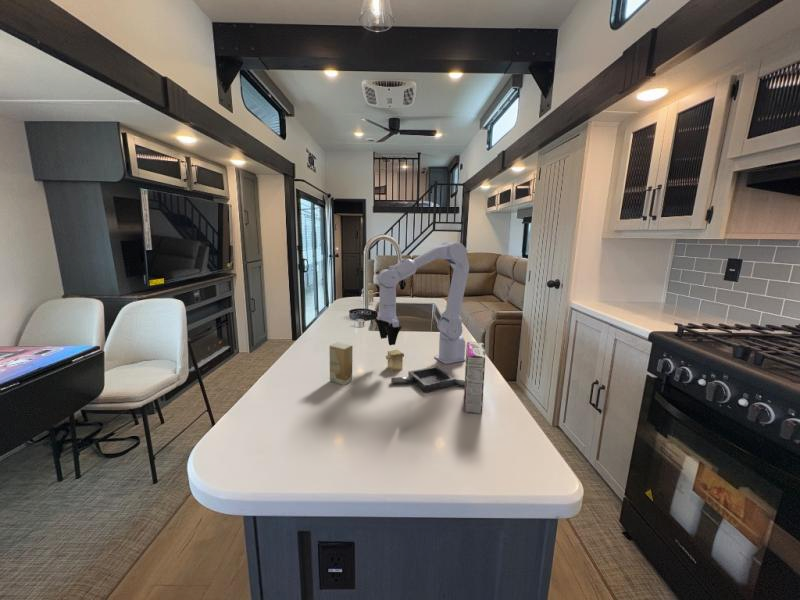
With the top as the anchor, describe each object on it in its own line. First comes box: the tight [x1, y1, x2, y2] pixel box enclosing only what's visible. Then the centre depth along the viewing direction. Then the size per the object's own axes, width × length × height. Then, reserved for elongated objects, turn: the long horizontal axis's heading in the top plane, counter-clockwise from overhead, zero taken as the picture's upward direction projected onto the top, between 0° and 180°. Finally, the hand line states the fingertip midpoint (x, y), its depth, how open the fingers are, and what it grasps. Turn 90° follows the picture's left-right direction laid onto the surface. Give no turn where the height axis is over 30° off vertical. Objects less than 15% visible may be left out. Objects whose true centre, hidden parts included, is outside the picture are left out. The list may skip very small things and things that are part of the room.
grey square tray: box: [407, 365, 457, 394], centre depth 103 cm, size 11×11×2 cm
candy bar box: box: [463, 341, 486, 415], centre depth 89 cm, size 11×5×16 cm, turn 168°
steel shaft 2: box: [454, 378, 465, 388], centre depth 100 cm, size 7×2×2 cm, turn 76°
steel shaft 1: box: [390, 376, 414, 385], centre depth 102 cm, size 7×2×2 cm, turn 96°
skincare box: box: [329, 341, 354, 386], centre depth 102 cm, size 6×4×12 cm
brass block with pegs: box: [385, 349, 405, 372], centre depth 113 cm, size 6×4×6 cm, turn 116°
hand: (387, 341), depth 114 cm, fingers open, 7 cm apart
